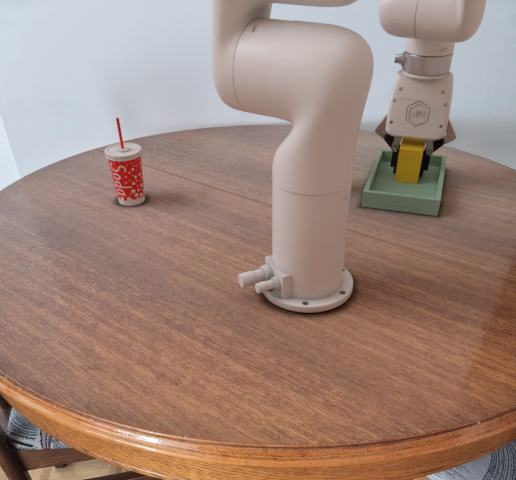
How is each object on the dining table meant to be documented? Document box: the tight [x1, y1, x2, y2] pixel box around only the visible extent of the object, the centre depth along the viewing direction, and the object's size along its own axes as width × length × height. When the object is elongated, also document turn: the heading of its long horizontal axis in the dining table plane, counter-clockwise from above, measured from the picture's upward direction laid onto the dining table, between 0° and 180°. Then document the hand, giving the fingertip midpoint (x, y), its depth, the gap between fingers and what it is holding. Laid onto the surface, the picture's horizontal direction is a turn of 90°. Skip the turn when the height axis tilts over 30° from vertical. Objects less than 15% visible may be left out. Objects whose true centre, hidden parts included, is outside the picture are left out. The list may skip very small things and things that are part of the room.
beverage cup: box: [104, 117, 146, 207], centre depth 91 cm, size 6×6×14 cm
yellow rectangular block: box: [395, 137, 426, 184], centre depth 98 cm, size 7×4×6 cm, turn 163°
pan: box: [361, 148, 448, 217], centre depth 97 cm, size 20×13×3 cm, turn 163°
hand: (408, 171), depth 100 cm, fingers closed on yellow rectangular block, 4 cm apart
